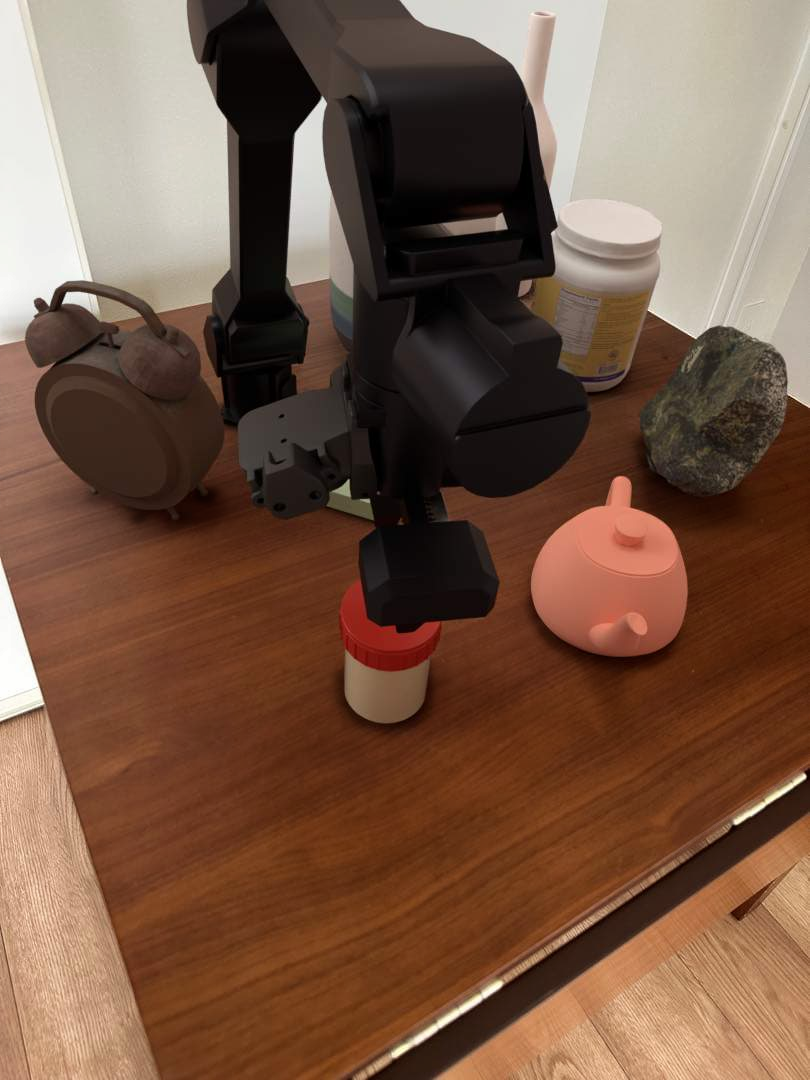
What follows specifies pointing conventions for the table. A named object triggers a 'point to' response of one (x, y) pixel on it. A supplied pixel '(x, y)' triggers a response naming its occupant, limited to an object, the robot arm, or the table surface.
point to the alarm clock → (124, 400)
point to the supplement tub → (600, 286)
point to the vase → (344, 267)
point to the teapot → (612, 579)
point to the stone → (716, 412)
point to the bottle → (538, 98)
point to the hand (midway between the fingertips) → (394, 578)
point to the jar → (385, 690)
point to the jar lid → (383, 637)
